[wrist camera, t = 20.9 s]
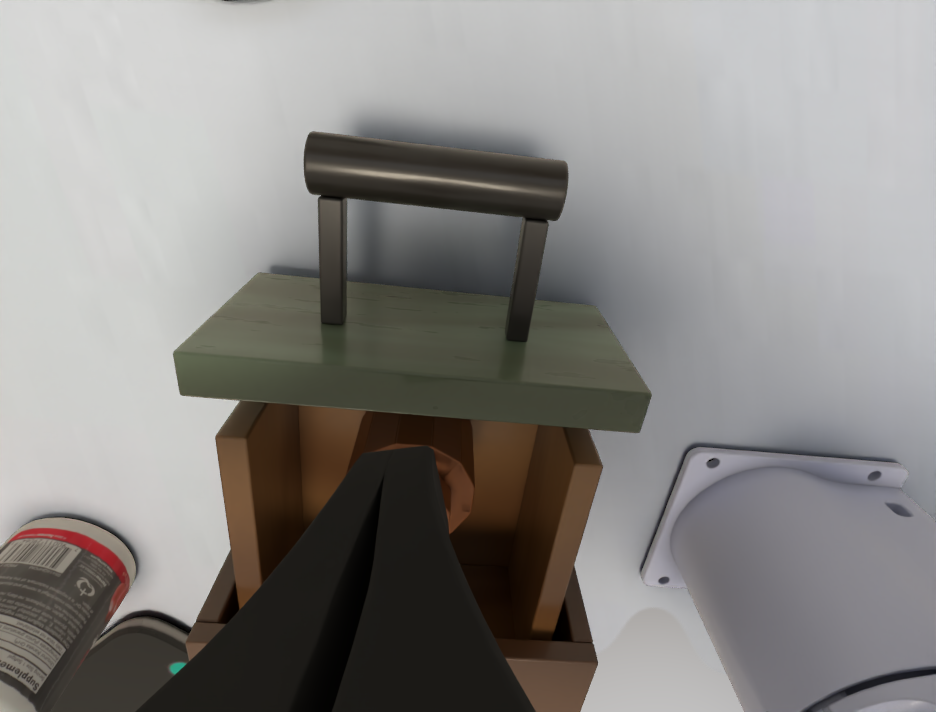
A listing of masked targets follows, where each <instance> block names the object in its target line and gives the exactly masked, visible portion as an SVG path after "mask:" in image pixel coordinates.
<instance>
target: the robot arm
mask: <svg viewBox="0 0 936 712" xmlns="http://www.w3.org/2000/svg"><path fill="white" fill-rule="evenodd" d="M712 458H714V460H712V461H710V462H708V460H710V459H712ZM908 475H909V473H908V470H907V469H906V468H905V467H903V466H902V465H901V464H899V463H892V462H879V461H867V460H855V459H842V458H830V457H817V456H805V455H793V454H780V453H768V452H756V451H743V450H731V449H718V448H706V447H697V448H694V449H692V450H691V451H689V452H688V454H687V455H686V457H685V460H684V463H683V465H682V468H681V470H680V473H679V475H678V478H677V481H676V483H675V486H674V488H673V491H672V494H671V496H670V499H669V501H668V504H667V507H666V509H665V512H664V514H663V517H662V520H661V522H660V525H659V527H658V530H657V533H656V535H655V538H654V540H653V543H652V546H651V548H650V551H649V553H648V556H647V559H646V561H645V564H644V566H643V569H642V572H641V578H642V580H643V582H644V584H646V585H648V586H655V587H672V588H688V590H689V593H690V595H691V597H692V599H693V601H694V604H695V606H696V608H697V610H698V612H699V614H700V617H701V619H702V621H703V623H704V625H705V627H706V630H707V632H708V634H709V636H710V638H711V640H712V643H713V645H714V647H715V649H716V651H717V654H718V656H719V658H720V660H721V662H722V664H723V667H724V669H725V671H726V673H727V675H728V677H729V680H730V682H731V684H732V686H733V688H734V690H735V693H736V695H737V697H738V699H739V701H740V704H741V706H742V708H743V710H744V712H936V521H935V520H934V519H933V518H932V517H930V516H929V515H928V514H927V513H926V512H925V511H924V510H923V509H922V508H921V507H919V506H918V505H917V504H916V503H915V502H914V501H913V500H912V499H911V498H910V497H908V496H907V495H906V494H905V493H904V492H903V491H902V490H901V487H902V486H903V484H904V483H905V481H906V479H907V478H908ZM135 712H536V711H535V709H534V707H533V706H532V704H531V702H530V700H529V699H528V697H527V695H526V693H525V692H524V690H523V688H522V687H521V685H520V683H519V681H518V680H517V678H516V676H515V674H514V673H513V671H512V669H511V667H510V666H509V664H508V662H507V660H506V659H505V657H504V655H503V653H502V652H501V650H500V648H499V646H498V644H497V642H496V640H495V638H494V636H493V634H492V632H491V630H490V629H489V627H488V625H487V623H486V621H485V619H484V617H483V615H482V613H481V610H480V608H479V606H478V604H477V602H476V600H475V598H474V596H473V594H472V591H471V589H470V587H469V585H468V583H467V580H466V578H465V576H464V573H463V571H462V569H461V566H460V564H459V561H458V559H457V556H456V554H455V551H454V549H453V546H452V543H451V540H450V538H449V526H448V517H447V513H446V508H445V503H444V498H443V493H442V488H441V484H440V479H439V474H438V469H437V464H436V459H435V455H434V450H433V449H431V448H430V447H428V446H427V445H425V446H417V447H409V448H401V449H392V450H384V451H376V452H367V453H362V454H361V456H360V457H359V458H358V459H357V461H356V462H355V463H354V465H353V466H352V468H351V469H350V470H349V472H348V473H347V475H346V476H345V478H344V479H343V480H342V482H341V483H340V485H339V486H338V487H337V489H336V490H335V492H334V493H333V494H332V496H331V497H330V499H329V500H328V501H327V503H326V504H325V506H324V507H323V508H322V510H321V511H320V512H319V514H318V515H317V516H316V518H315V519H314V520H313V522H312V523H311V524H310V526H309V527H308V528H307V530H306V531H305V532H304V534H303V535H302V536H301V538H300V539H299V540H298V541H297V543H296V544H295V545H294V547H293V548H292V549H291V550H290V551H289V553H288V554H287V555H286V556H285V558H284V559H283V560H282V561H281V562H280V564H279V565H278V566H277V567H276V568H275V570H274V571H273V572H272V573H271V574H270V576H269V577H268V578H267V579H266V580H265V582H264V583H263V584H262V585H261V586H260V588H259V589H258V590H257V591H256V592H255V593H254V594H253V596H252V597H251V598H250V599H249V600H248V601H247V602H246V603H245V605H244V606H243V607H242V608H241V609H240V610H239V611H238V612H237V613H236V614H235V616H234V617H233V618H232V619H231V620H230V621H229V622H228V623H227V624H226V625H225V626H224V627H223V628H222V629H221V630H220V631H219V632H218V633H217V634H216V635H215V636H214V637H213V638H212V639H211V640H210V642H209V643H208V644H207V645H206V646H205V647H204V648H203V649H202V650H201V651H200V652H198V653H197V654H196V655H195V656H194V657H193V658H192V659H191V660H190V661H189V662H188V663H187V664H186V665H185V666H184V667H183V668H182V669H180V670H179V671H178V672H177V673H176V674H175V675H174V676H173V677H172V678H171V679H170V680H169V681H168V682H166V683H165V684H164V685H163V686H162V687H161V688H160V689H159V690H158V691H157V692H156V693H155V694H154V695H153V696H151V697H150V698H149V699H148V700H147V701H146V702H145V703H144V704H143V705H142V706H141V707H140V708H139V709H137V710H136V711H135Z"/></svg>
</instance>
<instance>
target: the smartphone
mask: <svg viewBox="0 0 936 712" xmlns="http://www.w3.org/2000/svg"><path fill="white" fill-rule="evenodd" d="M188 636H189V633H187V632H185V631H183V630H181V629H180V628H178V627H176V626H174V625H172V624H170V623H168V622H166V621H163V620H161V619H158V618H154V617H150V616H143V617H136V618H133V619H130V620H127V621H124V622H122V623H121V624H119V625H117V626H116V627H115V628H113V629H112V630H111V631H109V632H108V633H107V634H105V635H104V636H103V637H101V638H100V639H99V640H98V641H96V642H95V644H94V646H93V647H92V648H91V650H90V651H89V653H88V654H87V656H86V657H85V659H84V661H83V662H82V664H81V665H80V667H79V668H78V669H77V671H76V672H75V674H74V676H73V678H72V679H71V681H70V682H69V683H68V685H67V687H66V688H65V690H64V692H63V693H62V695H61V696H60V698H59V699H58V701H57V702H56V704H55V706H54V707H53V709H52V710H51V712H135V711H136V710H137V709H139V708H140V707H141V706H142V705H143V704H144V703H145V702H146V701H147V700H148V699H149V698H150V697H151V696H153V695H154V694H155V693H156V692H157V691H158V690H159V689H160V688H161V687H162V686H163V685H164V684H165V683H166V682H168V681H169V680H170V679H171V678H172V677H173V676H174V675H175V674H176V673H177V672H178V671H179V670H180V669H182V668H183V667H184V666H185V665H186V664H187V663H188V662H189V657H188V653H187V649H186V644H185V643H186V640H187V638H188Z"/></svg>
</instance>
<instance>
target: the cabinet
mask: <svg viewBox="0 0 936 712" xmlns="http://www.w3.org/2000/svg"><path fill="white" fill-rule="evenodd" d="M238 611H239V603H238V596H237V589H236V581H235V574H234V567H233V560H232V553H231V550H230V552H229V554H228V556H227V558H226V560H225V562H224V564H223V566H222V568H221V570H220V572H219V574H218V576H217V579H216V581H215V583H214V585H213V587H212V589H211V591H210V593H209V595H208V597H207V599H206V601H205V603H204V605H203V607H202V609H201V611H200V613H199V615H198V617H197V619H196V623H195V624H194V625H193V628H192V630H191V632H190V634H189V636H188V638H187V640H186V643H185V644H186V649H187V653H188V657H189V661H190V660H191V659H192V658H193V657H194V656H195V655H196V654H197V653H198V652H200V651H201V650H202V649H203V648H204V647H205V646H206V645H207V644H208V643H209V642H210V640H211V639H212V638H213V637H214V636H215V635H216V634H217V633H218V632H219V631H220V630H221V629H222V628H223V627H224V626H225V625H226V624H227V623H228V622H229V621H230V620H231V619H232V618H233V617H234V616H235V614H236V613H237V612H238ZM495 640H496V642H497V644H498V646H499V648H500V650H501V652H502V653H503V655H504V657H505V659H506V660H507V662H508V664H509V666H510V667H511V669H512V671H513V673H514V674H515V676H516V678H517V680H518V681H519V683H520V685H521V687H522V688H523V690H524V692H525V693H526V695H527V697H528V699H529V700H530V702H531V704H532V706H533V707H534V709H535V711H536V712H580V711H581V708H582V705H583V703H584V700H585V697H586V694H587V692H588V689H589V687H590V684H591V681H592V679H593V676H594V673H595V670H596V668H597V665H598V661H597V657H596V652H595V648H594V645H593V644H592V643H593V640H592V636H591V632H590V628H589V624H588V619H587V615H586V611H585V607H584V603H583V599H582V595H581V591H580V587H579V583H578V579H577V575H576V571H575V566H574V567H573V570H572V573H571V577H570V580H569V584H568V587H567V590H566V594H565V597H564V600H563V604H562V607H561V611H560V614H559V617H558V621H557V624H556V628H555V631H554V634H553V638H552V641H543V640H524V639H505V638H495Z"/></svg>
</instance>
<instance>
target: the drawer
mask: <svg viewBox="0 0 936 712" xmlns="http://www.w3.org/2000/svg"><path fill="white" fill-rule="evenodd" d="M304 176H305V182H306V186H307V189H308V191H309V192H310V193H311V194H313V195H321V196H320V197H319V198H318V225H319V271H320V278H310V277H300V276H290V275H280V274H270V273H257V274H256V275H255V276H254V277H253V278H252V279H251V280H250V281H249V282H248V283H247V284H246V285H245V286H243V287H242V288H241V289H240V290H239V291H238V292H237V293H236V294H235V295H234V296H233V297H232V298H231V299H230V300H228V301H227V302H226V303H225V304H224V305H223V306H222V307H221V308H220V309H219V310H218V311H217V312H216V313H215V314H213V315H212V316H211V317H210V318H209V319H208V320H207V321H206V322H205V323H204V324H203V325H202V326H201V327H199V328H198V329H197V330H196V331H195V332H194V333H193V334H192V335H191V336H190V337H189V338H188V339H187V340H186V341H184V342H183V343H182V344H181V345H180V346H179V347H178V348H177V349H176V350H175V351H174V353H173V357H174V362H175V368H176V374H177V380H178V386H179V392H180V394H181V395H182V396H191V397H204V398H216V399H228V400H240V401H239V403H238V404H237V406H236V407H235V409H234V410H233V412H232V413H231V414H230V416H229V417H228V419H227V420H226V422H225V423H224V425H223V426H222V427H221V429H220V430H219V432H218V433H217V435H216V437H215V440H216V447H217V454H218V461H219V468H220V475H221V482H222V489H223V496H224V503H225V511H226V518H227V525H228V532H229V539H230V546H231V553H232V560H233V567H234V574H235V581H236V589H237V596H238V603H239V610H240V609H241V608H242V607H243V606H244V605H245V603H246V602H247V601H248V600H249V599H250V598H251V597H252V596H253V594H254V593H255V592H256V591H257V590H258V589H259V588H260V586H261V585H262V584H263V583H264V582H265V580H266V579H267V578H268V577H269V576H270V574H271V573H272V572H273V571H274V570H275V568H276V567H277V566H278V565H279V564H280V562H281V561H282V560H283V559H284V558H285V556H286V555H287V554H288V553H289V551H290V550H291V549H292V548H293V547H294V545H295V544H296V543H297V541H298V540H299V539H300V538H301V536H302V535H303V534H304V532H305V531H306V530H307V528H308V527H309V526H310V524H311V523H312V522H313V520H314V519H315V518H316V516H317V515H318V514H319V512H320V511H321V510H322V508H323V507H324V506H325V504H326V503H327V501H328V500H329V499H330V497H331V496H332V494H333V493H334V492H335V490H336V489H337V487H338V486H339V485H340V483H341V482H342V480H343V479H344V478H345V476H346V472H347V469H348V466H349V462H350V459H351V455H352V452H353V448H354V445H355V441H356V438H357V434H358V431H359V427H360V424H361V420H362V417H363V416H364V415H365V412H366V411H374V412H386V413H399V414H411V415H423V416H435V417H447V418H460V419H470V422H471V425H472V430H473V452H474V474H475V492H474V499H473V505H472V511H471V513H470V515H469V516H468V517H467V518H466V519H465V520H464V521H463V522H462V523H461V524H460V525H459V526H458V527H457V528H456V529H455V530H454V531H453V532H452V533H450V534H449V538H450V540H451V543H452V546H453V549H454V551H455V554H456V556H457V559H458V561H459V564H460V566H461V569H462V571H463V573H464V576H465V578H466V580H467V583H468V585H469V587H470V589H471V591H472V594H473V596H474V598H475V600H476V602H477V604H478V606H479V608H480V610H481V613H482V615H483V617H484V619H485V621H486V623H487V625H488V627H489V629H490V630H491V632H492V634H493V636H494V638H505V639H524V640H543V641H552V638H553V634H554V631H555V628H556V624H557V621H558V617H559V614H560V611H561V607H562V604H563V600H564V597H565V594H566V590H567V587H568V584H569V580H570V577H571V573H572V570H573V567H574V563H575V560H576V556H577V553H578V550H579V546H580V543H581V540H582V536H583V533H584V529H585V526H586V523H587V519H588V516H589V512H590V509H591V506H592V502H593V499H594V496H595V492H596V489H597V485H598V482H599V479H600V475H601V472H602V468H603V465H602V463H601V460H600V457H599V455H598V452H597V450H596V447H595V444H594V442H593V439H592V437H591V434H590V431H589V429H594V430H606V431H618V432H630V433H639V432H640V430H641V427H642V424H643V421H644V418H645V415H646V412H647V409H648V406H649V403H650V399H651V396H652V394H651V392H650V390H649V389H648V387H647V385H646V384H645V382H644V381H643V379H642V378H641V376H640V374H639V373H638V371H637V370H636V368H635V367H634V365H633V363H632V362H631V360H630V359H629V357H628V356H627V354H626V352H625V351H624V349H623V348H622V346H621V345H620V343H619V341H618V340H617V338H616V337H615V335H614V334H613V332H612V330H611V329H610V327H609V326H608V324H607V323H606V321H605V319H604V318H603V316H602V315H601V313H600V311H599V310H598V308H597V307H596V306H593V305H583V304H573V303H563V302H553V301H543V300H535V297H536V291H537V286H538V280H539V275H540V270H541V264H542V259H543V253H544V248H545V242H546V237H547V231H548V226H549V224H548V222H547V220H550V221H556V220H558V219H559V217H560V215H561V213H562V210H563V207H564V204H565V199H566V194H567V187H568V166H567V163H566V162H565V161H561V160H553V159H544V158H536V157H527V156H519V155H510V154H502V153H493V152H485V151H476V150H468V149H459V148H451V147H442V146H434V145H425V144H417V143H408V142H400V141H391V140H383V139H374V138H366V137H358V136H349V135H341V134H332V133H324V132H315V131H313V132H310V133H309V135H308V137H307V140H306V144H305V150H304ZM347 198H350V199H359V200H368V201H377V202H386V203H395V204H404V205H413V206H423V207H432V208H441V209H450V210H459V211H468V212H477V213H486V214H495V215H505V216H514V217H523V219H522V225H521V231H520V237H519V244H518V250H517V256H516V263H515V269H514V275H513V281H512V288H511V294H510V297H502V296H492V295H482V294H472V293H462V292H452V291H442V290H432V289H421V288H411V287H401V286H391V285H381V284H371V283H361V282H351V281H347Z"/></svg>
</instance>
